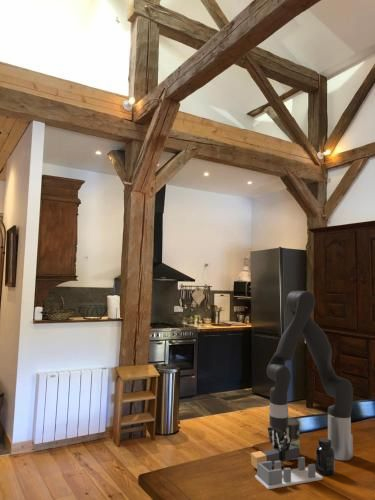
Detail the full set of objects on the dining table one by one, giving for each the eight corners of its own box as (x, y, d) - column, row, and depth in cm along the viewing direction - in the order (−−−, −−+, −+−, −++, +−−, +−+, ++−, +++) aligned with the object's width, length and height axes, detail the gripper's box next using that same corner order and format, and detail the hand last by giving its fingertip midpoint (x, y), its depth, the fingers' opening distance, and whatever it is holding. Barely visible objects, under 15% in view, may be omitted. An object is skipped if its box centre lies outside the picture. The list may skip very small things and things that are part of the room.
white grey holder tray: (307, 468, 154) (307, 454, 154) (322, 479, 145) (322, 464, 146) (254, 477, 145) (255, 462, 146) (268, 489, 137) (268, 473, 137)
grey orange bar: (293, 453, 161) (293, 442, 161) (300, 457, 157) (299, 446, 157) (251, 464, 154) (250, 453, 154) (257, 469, 149) (256, 457, 150)
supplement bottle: (334, 470, 153) (334, 438, 154) (335, 477, 147) (334, 444, 148) (316, 466, 156) (316, 435, 157) (316, 474, 149) (315, 442, 150)
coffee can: (298, 451, 170) (298, 418, 172) (300, 461, 160) (300, 426, 162) (274, 448, 172) (275, 415, 174) (275, 458, 162) (275, 423, 164)
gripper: (297, 418, 152) (297, 464, 150) (276, 407, 165) (277, 449, 164) (281, 420, 149) (281, 467, 148) (261, 409, 163) (261, 452, 161)
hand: (279, 457), depth 156 cm, fingers closed on grey orange bar, 3 cm apart
